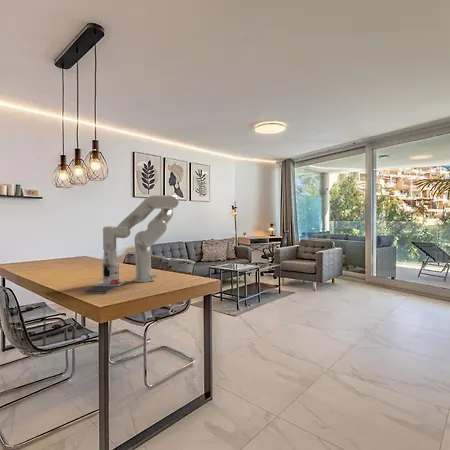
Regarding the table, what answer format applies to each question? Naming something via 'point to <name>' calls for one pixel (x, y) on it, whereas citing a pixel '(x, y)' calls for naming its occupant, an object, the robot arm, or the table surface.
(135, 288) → the table surface
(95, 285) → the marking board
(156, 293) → the table surface
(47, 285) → the table surface
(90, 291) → the pad
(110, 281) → the ink box
